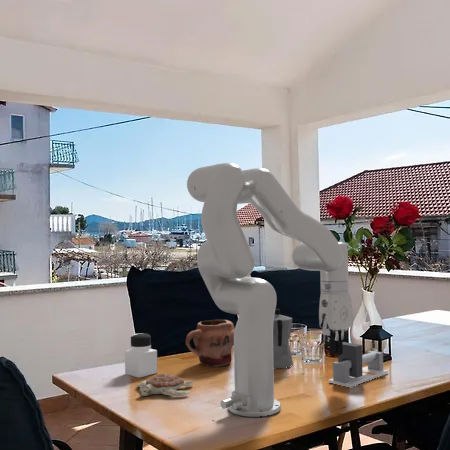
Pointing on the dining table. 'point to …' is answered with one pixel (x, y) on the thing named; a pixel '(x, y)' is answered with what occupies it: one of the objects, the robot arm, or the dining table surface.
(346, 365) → the pipe rig
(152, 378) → the decorative turtle
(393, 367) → the dining table surface
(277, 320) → the coffeepot
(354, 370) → the dark grey sliding block
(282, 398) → the dining table surface
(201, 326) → the brown clay mug
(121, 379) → the dining table surface
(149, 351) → the medicine bottle
